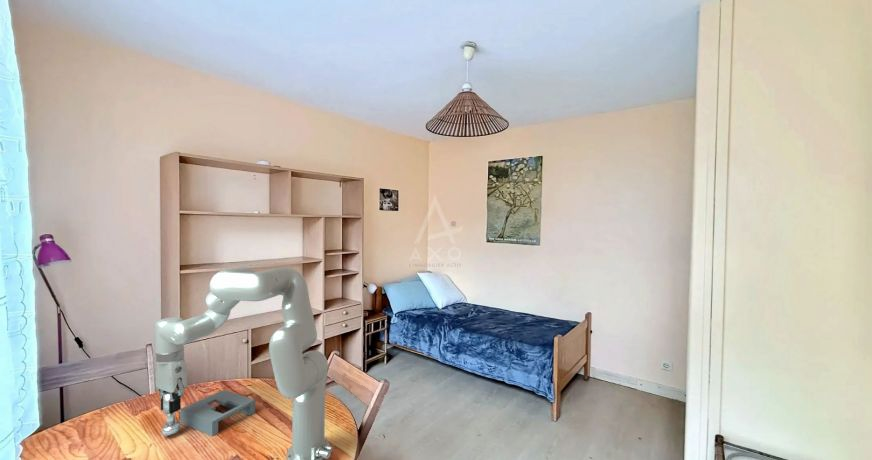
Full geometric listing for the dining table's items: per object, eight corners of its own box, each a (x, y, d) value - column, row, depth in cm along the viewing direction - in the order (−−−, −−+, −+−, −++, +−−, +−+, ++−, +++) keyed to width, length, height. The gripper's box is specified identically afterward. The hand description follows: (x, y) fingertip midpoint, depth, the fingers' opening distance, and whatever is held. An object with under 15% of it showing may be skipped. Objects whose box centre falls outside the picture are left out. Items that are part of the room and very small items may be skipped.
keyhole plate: (255, 413, 130) (255, 399, 130) (212, 436, 115) (212, 421, 115) (224, 402, 137) (224, 389, 137) (180, 422, 123) (180, 408, 123)
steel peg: (183, 429, 116) (182, 390, 116) (167, 436, 112) (166, 397, 112) (174, 425, 119) (174, 388, 118) (158, 433, 114) (158, 394, 114)
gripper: (197, 355, 115) (197, 410, 115) (168, 348, 122) (168, 399, 122) (172, 363, 108) (172, 421, 108) (143, 355, 115) (143, 409, 115)
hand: (170, 409), depth 115 cm, fingers closed on steel peg, 4 cm apart
